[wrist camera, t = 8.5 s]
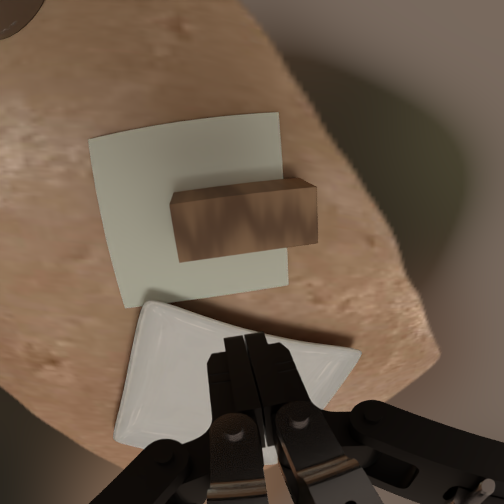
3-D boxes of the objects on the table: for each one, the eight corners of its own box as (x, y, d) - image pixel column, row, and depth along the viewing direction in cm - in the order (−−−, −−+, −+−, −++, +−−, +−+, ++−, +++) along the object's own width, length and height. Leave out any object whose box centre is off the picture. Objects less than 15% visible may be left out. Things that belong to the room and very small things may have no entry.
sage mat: (90, 139, 26) (88, 139, 25) (276, 112, 28) (278, 112, 28) (126, 305, 33) (125, 308, 32) (287, 282, 35) (288, 285, 35)
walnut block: (169, 204, 24) (316, 186, 26) (173, 192, 29) (298, 177, 30) (179, 262, 26) (317, 243, 28) (181, 242, 31) (300, 226, 32)
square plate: (148, 281, 33) (143, 299, 29) (354, 335, 41) (367, 353, 37) (114, 425, 41) (111, 444, 37) (272, 450, 48) (277, 467, 45)
